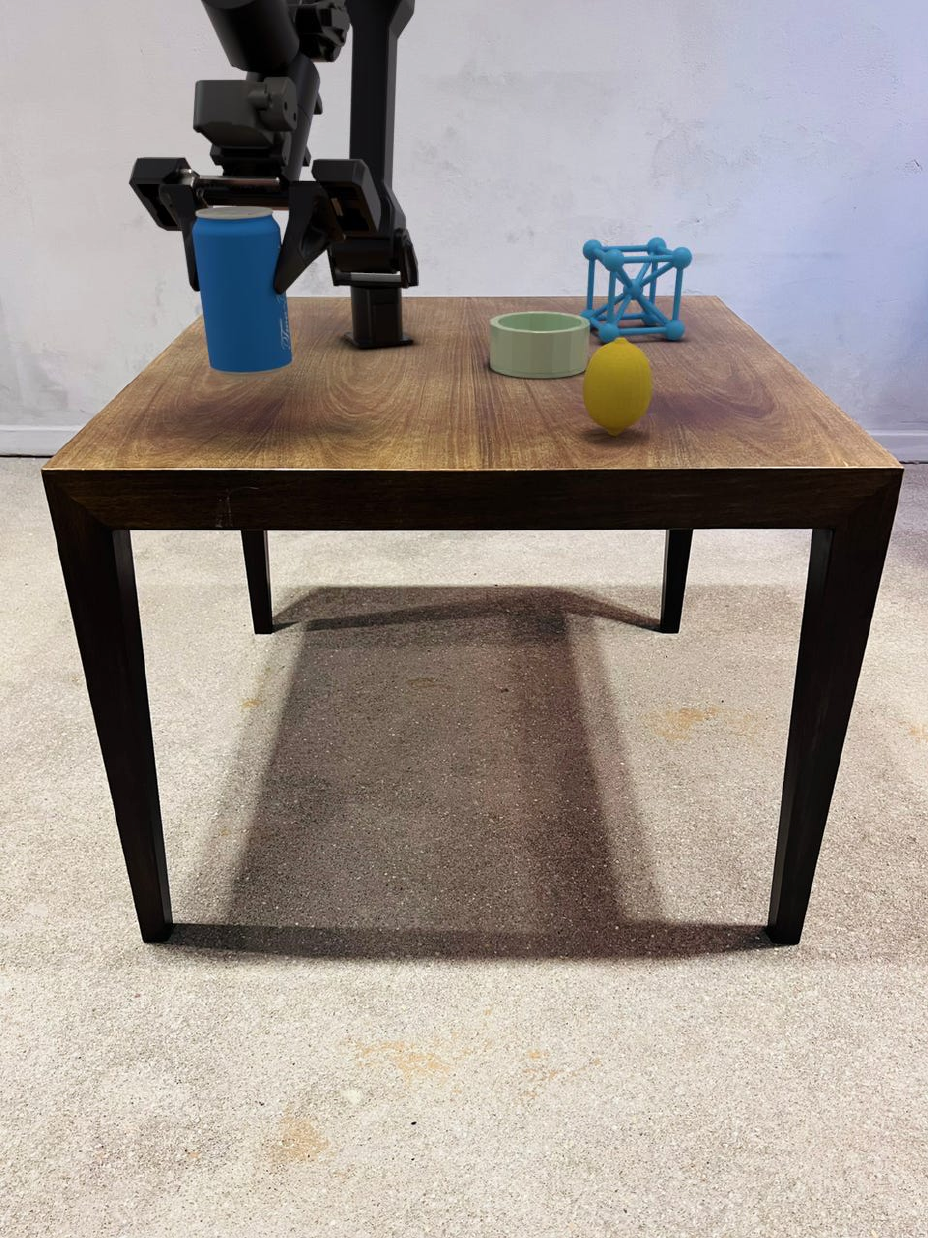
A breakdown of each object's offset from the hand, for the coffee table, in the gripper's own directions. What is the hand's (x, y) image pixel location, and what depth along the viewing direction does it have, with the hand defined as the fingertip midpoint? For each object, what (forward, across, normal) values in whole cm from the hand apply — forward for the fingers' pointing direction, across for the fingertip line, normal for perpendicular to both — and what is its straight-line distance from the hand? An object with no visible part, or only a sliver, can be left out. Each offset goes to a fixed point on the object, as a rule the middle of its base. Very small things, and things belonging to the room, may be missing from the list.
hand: (235, 289), depth 74 cm
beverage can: (+4, 0, +6) cm, 7 cm away
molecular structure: (-23, +28, +41) cm, 55 cm away
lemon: (+3, +29, +14) cm, 32 cm away
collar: (-12, +19, +29) cm, 37 cm away
